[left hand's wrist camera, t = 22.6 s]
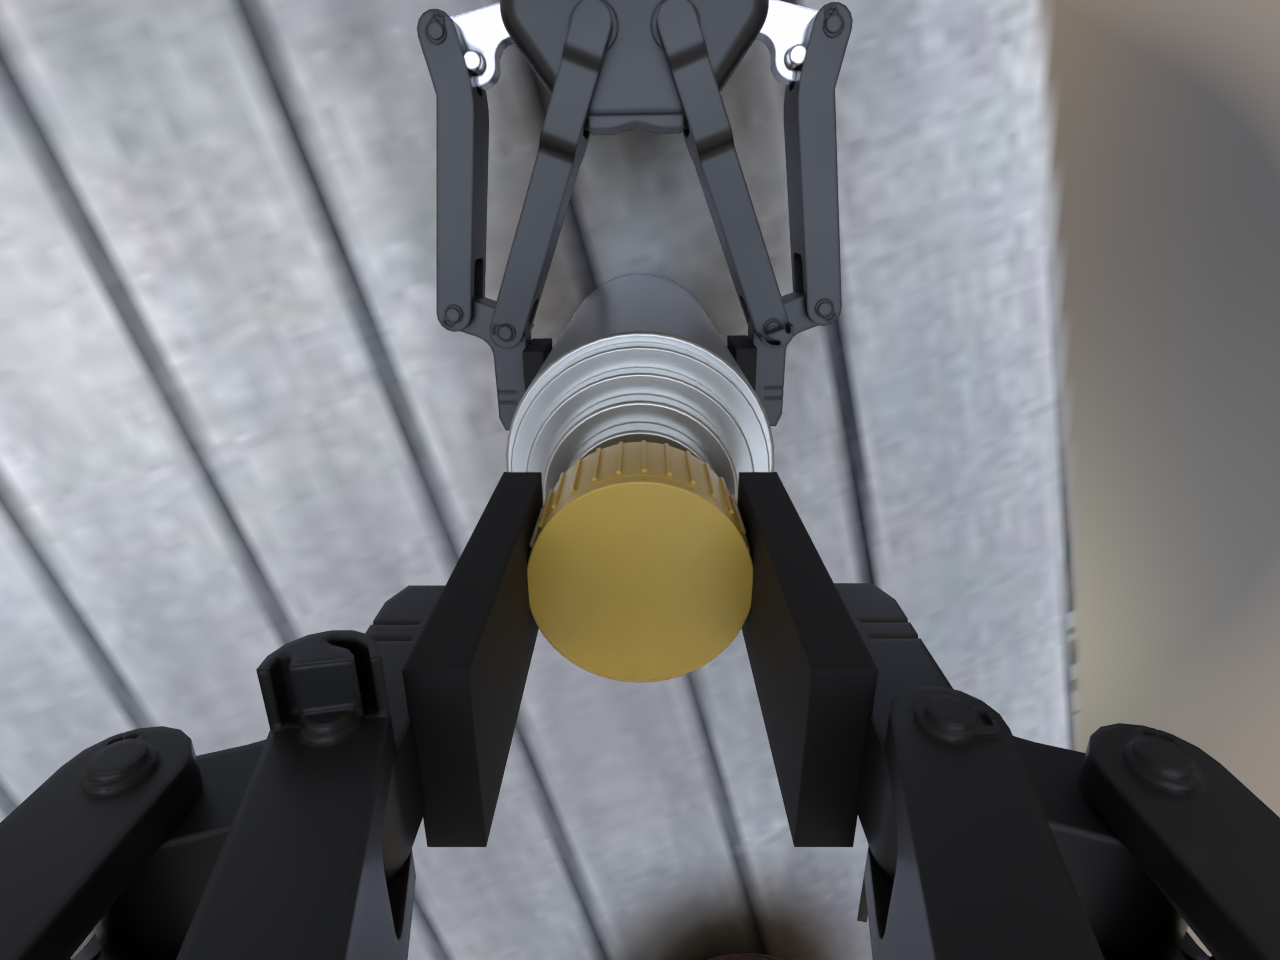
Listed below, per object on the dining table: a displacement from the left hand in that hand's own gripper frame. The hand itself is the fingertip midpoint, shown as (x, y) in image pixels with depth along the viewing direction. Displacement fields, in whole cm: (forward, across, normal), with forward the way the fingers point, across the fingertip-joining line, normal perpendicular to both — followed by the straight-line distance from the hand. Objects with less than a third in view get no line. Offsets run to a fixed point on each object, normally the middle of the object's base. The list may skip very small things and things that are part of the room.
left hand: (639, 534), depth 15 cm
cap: (-2, 0, 0) cm, 2 cm away
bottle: (+20, 0, 0) cm, 20 cm away
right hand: (+13, 0, -5) cm, 14 cm away
